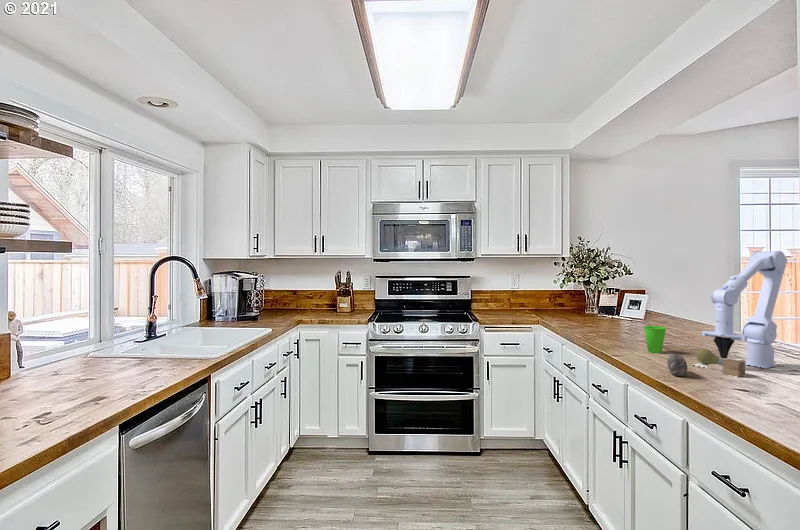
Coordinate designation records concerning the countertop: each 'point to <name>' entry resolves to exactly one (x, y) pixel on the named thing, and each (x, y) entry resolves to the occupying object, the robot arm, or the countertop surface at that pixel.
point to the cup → (654, 338)
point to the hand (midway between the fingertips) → (723, 357)
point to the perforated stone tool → (677, 365)
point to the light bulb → (708, 357)
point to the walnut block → (734, 367)
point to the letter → (701, 365)
